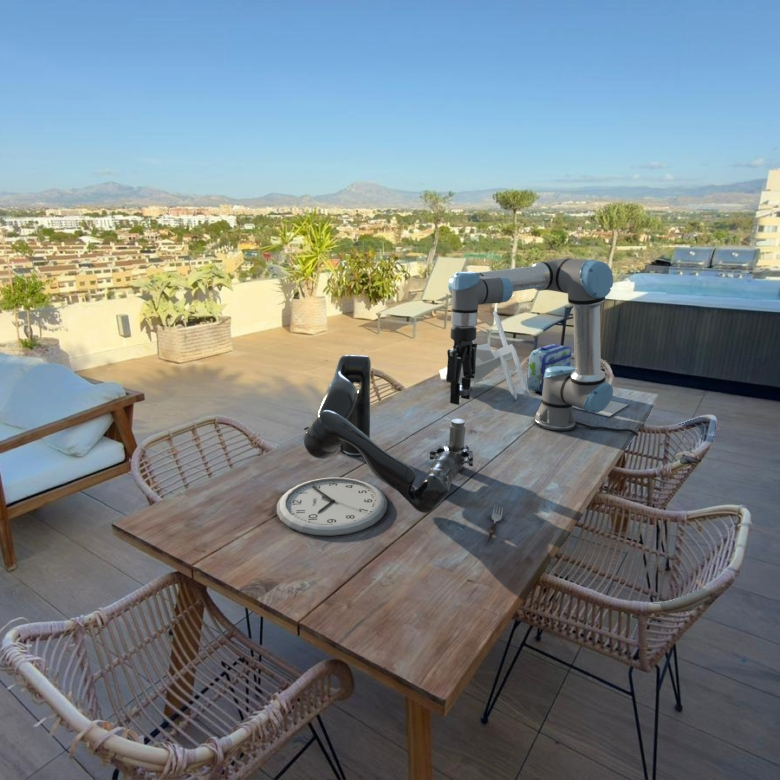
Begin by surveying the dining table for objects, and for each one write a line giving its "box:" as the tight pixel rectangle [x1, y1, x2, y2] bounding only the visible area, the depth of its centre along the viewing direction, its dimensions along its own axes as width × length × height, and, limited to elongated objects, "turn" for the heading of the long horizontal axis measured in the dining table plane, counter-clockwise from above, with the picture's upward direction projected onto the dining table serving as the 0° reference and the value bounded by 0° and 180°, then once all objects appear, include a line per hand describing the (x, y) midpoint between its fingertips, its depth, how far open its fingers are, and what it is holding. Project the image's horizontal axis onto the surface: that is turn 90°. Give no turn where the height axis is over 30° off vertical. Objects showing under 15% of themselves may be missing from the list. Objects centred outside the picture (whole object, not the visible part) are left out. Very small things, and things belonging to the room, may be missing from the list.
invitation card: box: [573, 400, 629, 418], centre depth 226 cm, size 21×1×15 cm
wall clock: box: [276, 476, 388, 537], centre depth 142 cm, size 30×2×30 cm
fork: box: [487, 505, 504, 543], centre depth 133 cm, size 3×16×2 cm, turn 160°
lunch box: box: [526, 343, 572, 394], centre depth 247 cm, size 26×11×21 cm, turn 134°
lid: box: [460, 384, 471, 397], centre depth 159 cm, size 6×6×2 cm
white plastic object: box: [438, 310, 531, 400], centre depth 245 cm, size 37×45×31 cm
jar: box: [448, 418, 466, 471], centre depth 164 cm, size 5×5×16 cm
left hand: (458, 446), depth 167 cm, fingers closed on jar, 4 cm apart
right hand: (460, 400), depth 160 cm, fingers closed on lid, 6 cm apart
